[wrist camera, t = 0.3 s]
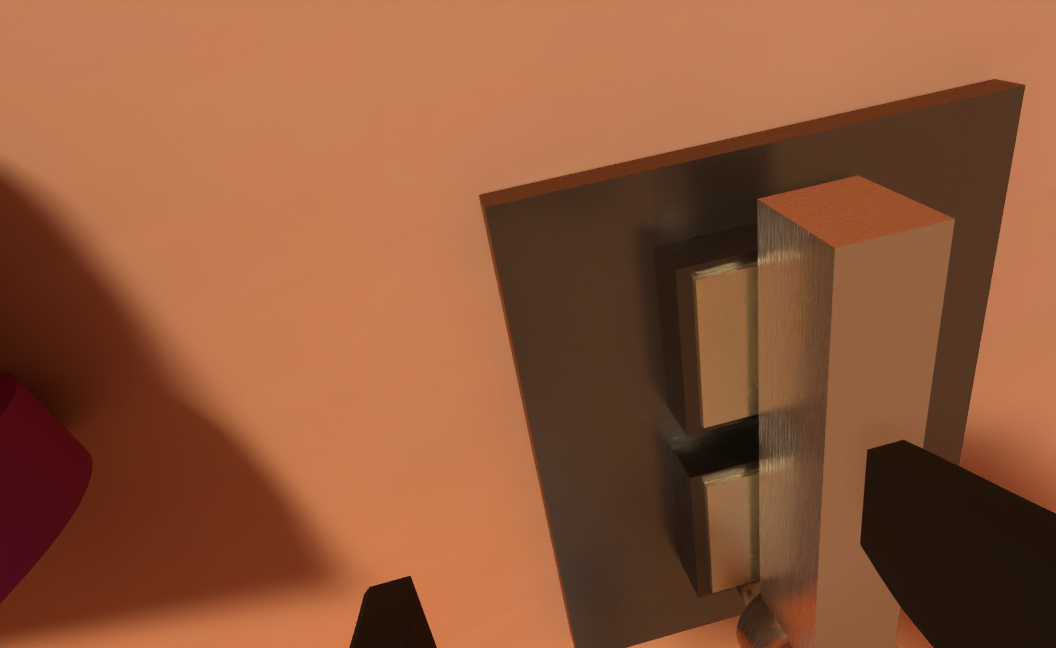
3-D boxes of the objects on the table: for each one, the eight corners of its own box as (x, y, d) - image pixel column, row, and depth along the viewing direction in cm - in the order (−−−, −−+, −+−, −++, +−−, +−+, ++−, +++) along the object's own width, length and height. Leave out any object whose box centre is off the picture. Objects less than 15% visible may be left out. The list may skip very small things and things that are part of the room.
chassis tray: (924, 536, 27) (977, 592, 24) (571, 637, 26) (591, 706, 23) (995, 78, 19) (1084, 96, 16) (479, 194, 17) (495, 232, 15)
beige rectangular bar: (849, 639, 24) (907, 723, 21) (737, 672, 23) (783, 761, 21) (891, 167, 16) (993, 209, 13) (723, 206, 15) (793, 258, 13)
